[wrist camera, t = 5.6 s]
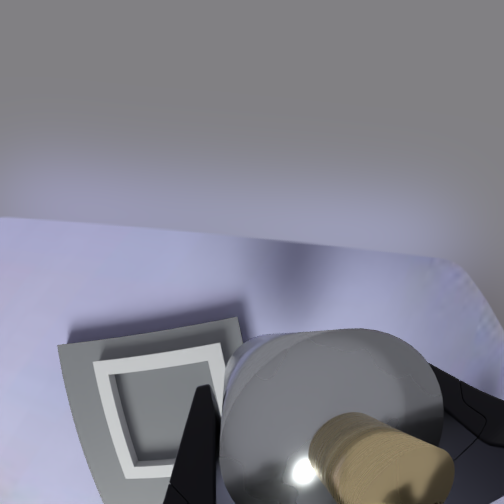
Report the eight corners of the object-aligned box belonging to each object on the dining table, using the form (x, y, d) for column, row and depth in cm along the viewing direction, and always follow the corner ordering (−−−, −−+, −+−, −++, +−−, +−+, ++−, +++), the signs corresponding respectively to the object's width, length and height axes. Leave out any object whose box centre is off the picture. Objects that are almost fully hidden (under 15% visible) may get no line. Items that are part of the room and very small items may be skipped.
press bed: (288, 532, 18) (294, 548, 15) (134, 546, 16) (127, 562, 13) (236, 317, 23) (238, 315, 20) (66, 344, 21) (49, 345, 18)
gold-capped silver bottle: (332, 390, 16) (536, 463, 3) (256, 438, 15) (325, 631, 2) (286, 316, 17) (460, 246, 4) (206, 364, 16) (129, 466, 3)
